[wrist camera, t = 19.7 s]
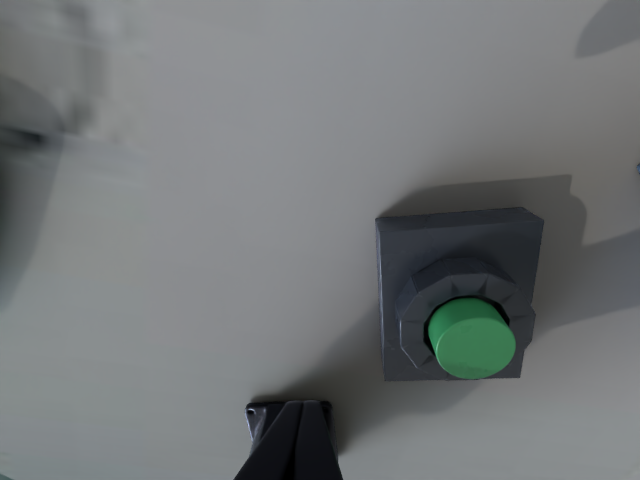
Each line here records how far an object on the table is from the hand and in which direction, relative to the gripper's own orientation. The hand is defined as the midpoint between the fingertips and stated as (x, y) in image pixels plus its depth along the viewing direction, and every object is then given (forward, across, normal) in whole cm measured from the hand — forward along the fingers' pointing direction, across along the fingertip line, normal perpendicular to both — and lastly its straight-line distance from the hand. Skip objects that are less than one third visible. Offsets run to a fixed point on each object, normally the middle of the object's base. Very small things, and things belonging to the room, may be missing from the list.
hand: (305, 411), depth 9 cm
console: (+12, -7, +4) cm, 14 cm away
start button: (+8, -7, +4) cm, 11 cm away
